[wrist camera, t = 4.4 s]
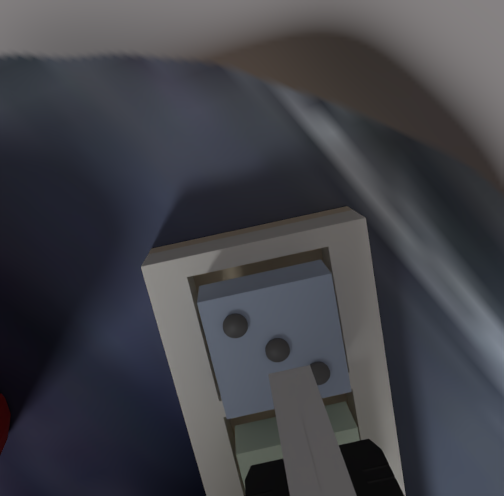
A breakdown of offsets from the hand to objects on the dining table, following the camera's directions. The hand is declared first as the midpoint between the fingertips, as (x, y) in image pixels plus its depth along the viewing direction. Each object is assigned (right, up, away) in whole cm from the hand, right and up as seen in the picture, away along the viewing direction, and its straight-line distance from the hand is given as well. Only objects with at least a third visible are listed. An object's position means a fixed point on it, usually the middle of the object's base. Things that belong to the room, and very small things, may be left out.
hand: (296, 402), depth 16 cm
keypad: (+1, -5, +12) cm, 13 cm away
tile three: (-1, +2, +7) cm, 7 cm away
